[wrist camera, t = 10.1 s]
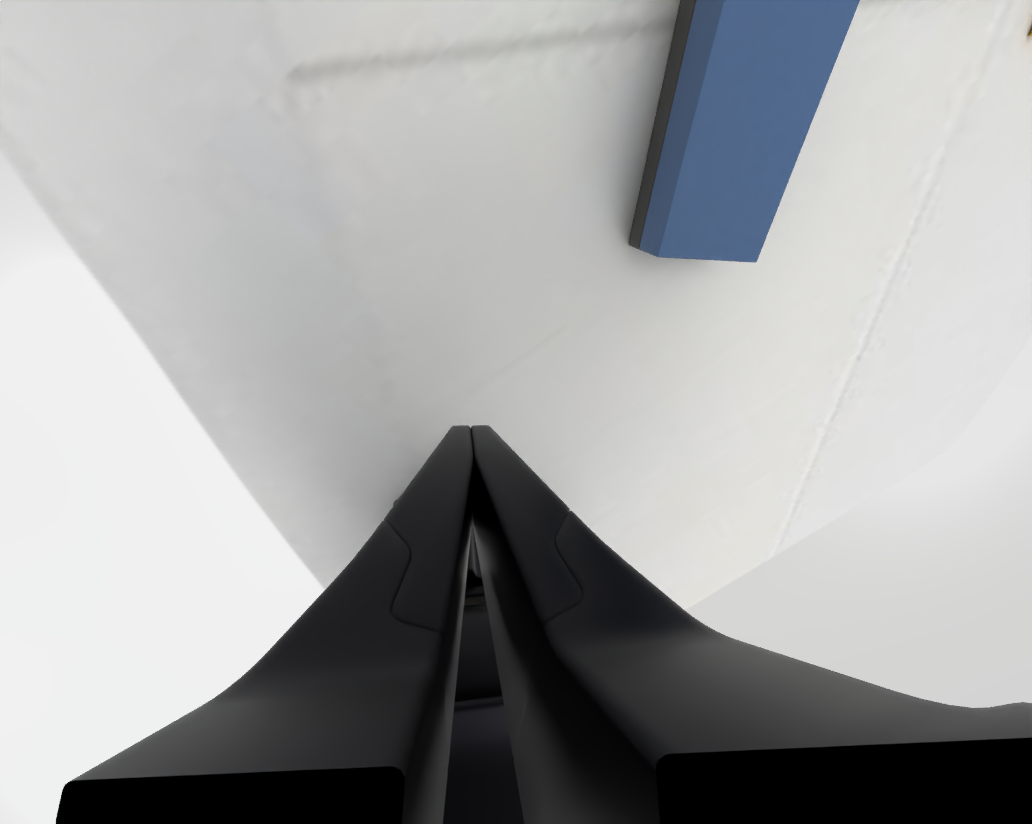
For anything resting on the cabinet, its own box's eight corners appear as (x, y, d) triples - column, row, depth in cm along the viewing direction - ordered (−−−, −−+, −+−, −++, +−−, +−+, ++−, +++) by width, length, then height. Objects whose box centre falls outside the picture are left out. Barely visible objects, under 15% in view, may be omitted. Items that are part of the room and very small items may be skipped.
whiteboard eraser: (714, 250, 18) (756, 262, 15) (627, 245, 17) (657, 257, 15) (819, -65, 13) (910, -124, 10) (699, -92, 12) (765, -162, 9)
